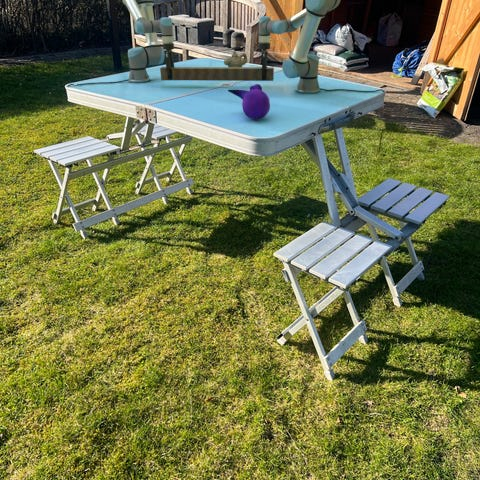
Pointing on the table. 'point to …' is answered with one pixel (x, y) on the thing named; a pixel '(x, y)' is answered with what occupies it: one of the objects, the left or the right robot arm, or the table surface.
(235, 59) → the teapot
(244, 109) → the toy
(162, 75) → the bar
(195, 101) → the table surface
